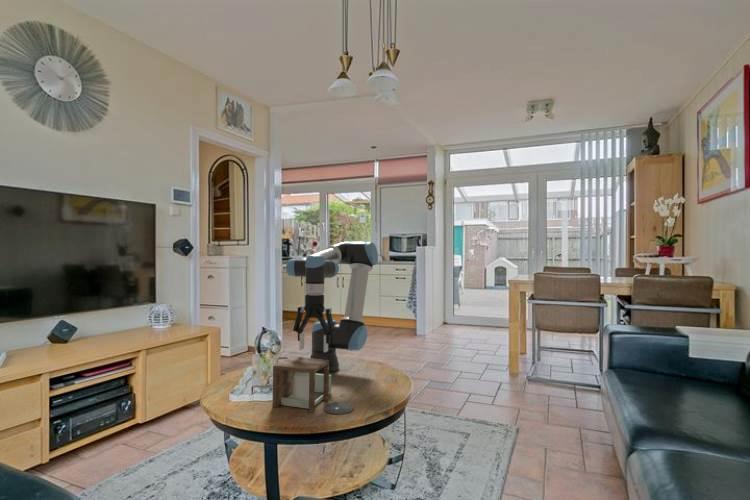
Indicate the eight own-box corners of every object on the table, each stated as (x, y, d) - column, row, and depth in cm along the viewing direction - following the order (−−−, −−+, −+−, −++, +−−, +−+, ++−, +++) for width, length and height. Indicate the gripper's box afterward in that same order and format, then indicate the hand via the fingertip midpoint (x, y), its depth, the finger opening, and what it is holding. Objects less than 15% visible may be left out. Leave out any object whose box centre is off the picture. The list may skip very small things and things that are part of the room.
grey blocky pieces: (304, 388, 171) (305, 371, 171) (332, 391, 167) (332, 374, 167) (280, 404, 152) (280, 385, 152) (310, 408, 148) (311, 389, 148)
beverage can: (310, 406, 152) (310, 373, 152) (289, 404, 153) (289, 372, 153) (317, 398, 160) (318, 367, 160) (297, 397, 161) (298, 366, 161)
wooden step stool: (291, 394, 164) (291, 356, 164) (328, 399, 159) (329, 360, 159) (272, 407, 150) (273, 365, 150) (312, 413, 145) (313, 369, 146)
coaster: (330, 401, 157) (330, 400, 157) (357, 405, 154) (357, 403, 154) (318, 412, 146) (318, 410, 146) (347, 416, 143) (347, 414, 143)
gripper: (284, 293, 164) (283, 350, 164) (337, 296, 157) (336, 355, 157) (293, 292, 171) (292, 346, 171) (344, 294, 165) (343, 350, 164)
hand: (313, 350), depth 164 cm, fingers open, 10 cm apart
